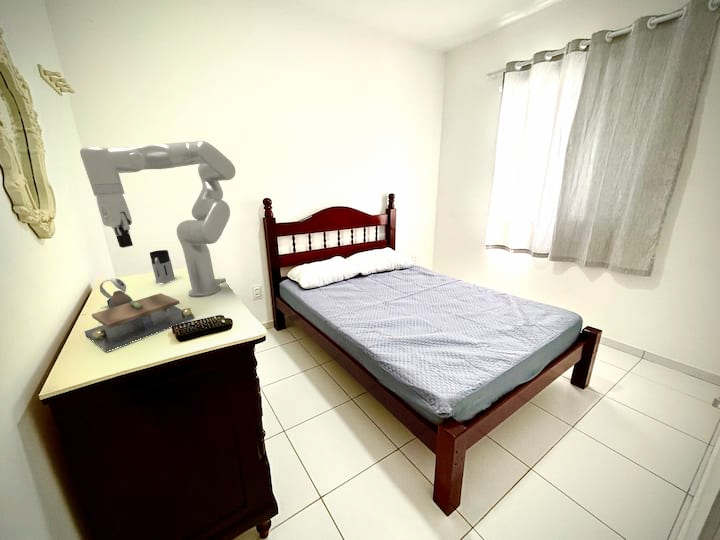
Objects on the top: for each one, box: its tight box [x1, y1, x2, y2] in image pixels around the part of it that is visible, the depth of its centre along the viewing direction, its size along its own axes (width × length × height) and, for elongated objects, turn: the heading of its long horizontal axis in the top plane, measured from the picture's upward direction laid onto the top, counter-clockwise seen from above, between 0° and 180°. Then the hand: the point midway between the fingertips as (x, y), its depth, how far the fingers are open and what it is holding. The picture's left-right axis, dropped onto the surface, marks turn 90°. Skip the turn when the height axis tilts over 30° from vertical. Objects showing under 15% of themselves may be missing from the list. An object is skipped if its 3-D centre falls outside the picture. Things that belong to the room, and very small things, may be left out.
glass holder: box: [149, 249, 177, 284], centre depth 139 cm, size 9×14×15 cm, turn 24°
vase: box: [108, 289, 134, 309], centre depth 107 cm, size 7×7×9 cm
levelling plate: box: [91, 292, 181, 328], centre depth 95 cm, size 20×14×3 cm
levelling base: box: [83, 305, 195, 352], centre depth 97 cm, size 25×19×6 cm
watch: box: [99, 277, 127, 309], centre depth 115 cm, size 6×8×11 cm
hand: (126, 246), depth 96 cm, fingers closed
